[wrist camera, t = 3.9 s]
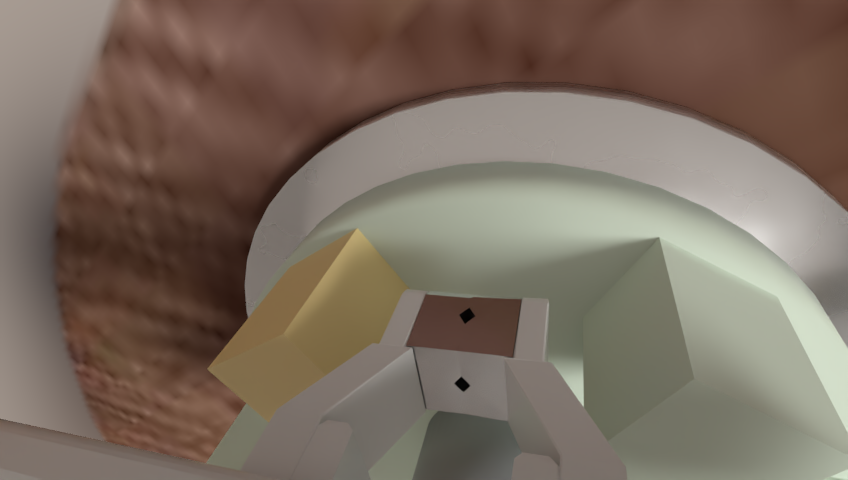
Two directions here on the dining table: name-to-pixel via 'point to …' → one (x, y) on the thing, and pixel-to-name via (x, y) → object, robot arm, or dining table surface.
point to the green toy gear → (564, 323)
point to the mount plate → (578, 147)
